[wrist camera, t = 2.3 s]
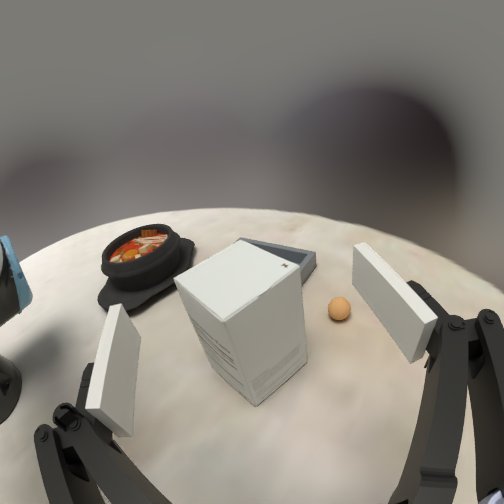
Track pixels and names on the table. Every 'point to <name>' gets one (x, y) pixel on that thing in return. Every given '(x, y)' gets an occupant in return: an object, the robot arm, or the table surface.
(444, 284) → the table surface
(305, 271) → the tray
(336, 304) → the ball
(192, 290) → the supplement box
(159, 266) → the casserole
